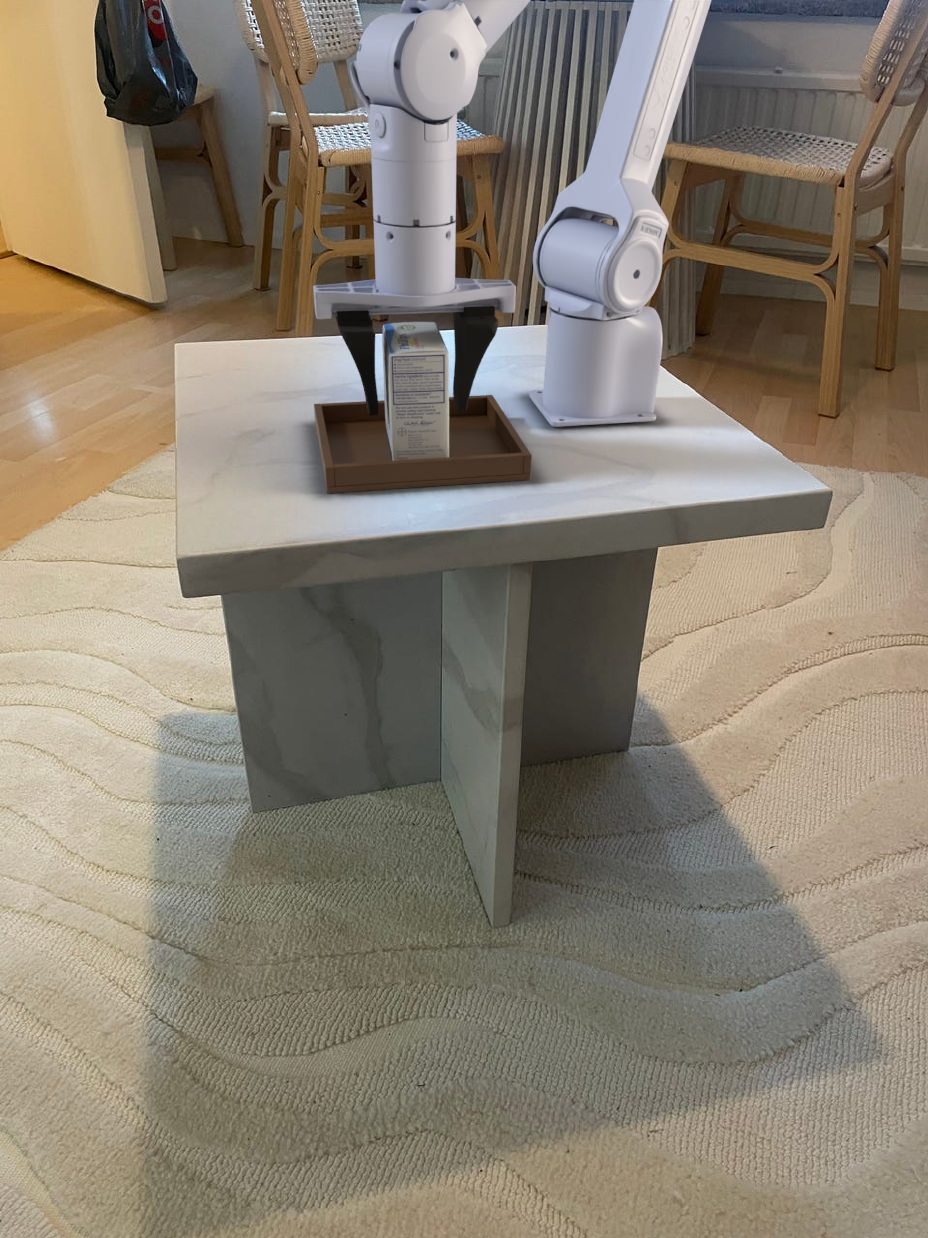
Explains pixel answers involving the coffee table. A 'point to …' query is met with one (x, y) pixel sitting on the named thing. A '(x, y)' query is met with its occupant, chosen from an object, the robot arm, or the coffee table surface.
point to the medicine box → (416, 390)
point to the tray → (366, 463)
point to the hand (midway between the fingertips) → (416, 408)
